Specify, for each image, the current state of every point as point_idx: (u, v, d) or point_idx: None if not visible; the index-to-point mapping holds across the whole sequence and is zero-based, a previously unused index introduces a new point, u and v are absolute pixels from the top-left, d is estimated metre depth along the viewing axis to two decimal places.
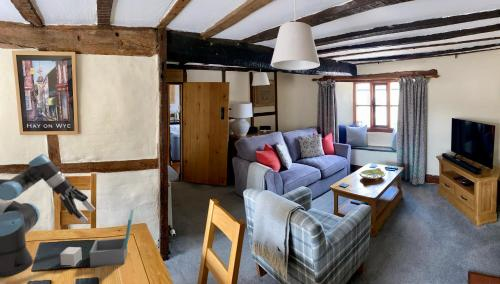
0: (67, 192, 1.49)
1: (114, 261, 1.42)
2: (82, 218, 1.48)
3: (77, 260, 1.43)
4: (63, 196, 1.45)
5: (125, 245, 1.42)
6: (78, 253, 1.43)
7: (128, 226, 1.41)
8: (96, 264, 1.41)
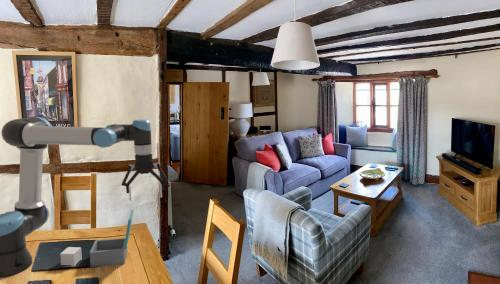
0: (138, 166, 1.44)
1: (114, 261, 1.42)
2: (129, 194, 1.46)
3: (77, 260, 1.43)
4: (128, 166, 1.43)
5: (125, 245, 1.42)
6: (78, 253, 1.43)
7: (128, 226, 1.41)
8: (96, 264, 1.41)
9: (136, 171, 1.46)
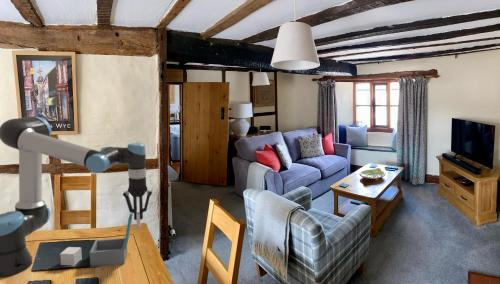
0: (130, 189, 1.44)
1: (114, 261, 1.42)
2: None
3: (77, 260, 1.43)
4: None
5: (125, 245, 1.42)
6: (78, 253, 1.43)
7: (128, 226, 1.41)
8: (96, 264, 1.41)
9: None
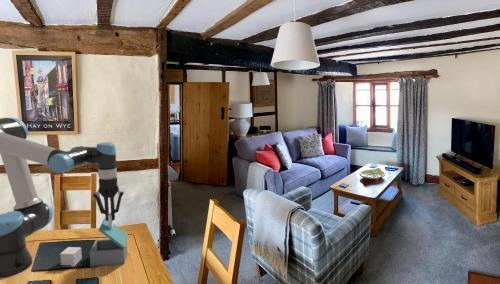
0: (101, 189, 1.41)
1: (114, 261, 1.42)
2: None
3: (77, 260, 1.43)
4: None
5: (121, 245, 1.42)
6: (78, 253, 1.43)
7: (105, 233, 1.39)
8: (96, 264, 1.41)
9: None
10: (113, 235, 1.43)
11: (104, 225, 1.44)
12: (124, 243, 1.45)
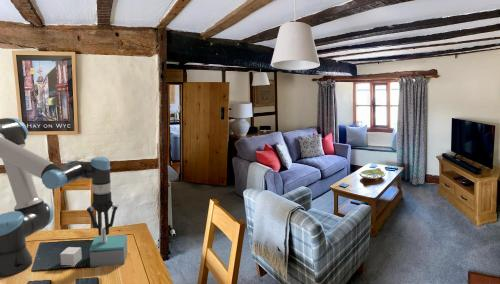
0: (95, 204, 1.41)
1: (114, 261, 1.42)
2: None
3: (77, 260, 1.43)
4: None
5: (119, 248, 1.42)
6: (78, 253, 1.43)
7: (97, 249, 1.39)
8: (96, 264, 1.41)
9: None
10: (107, 245, 1.43)
11: (94, 243, 1.44)
12: (122, 244, 1.45)
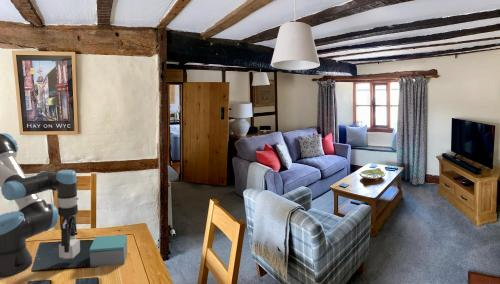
0: (69, 219, 1.38)
1: (114, 261, 1.42)
2: (67, 253, 1.39)
3: (75, 252, 1.43)
4: (65, 226, 1.34)
5: (119, 248, 1.42)
6: (76, 245, 1.43)
7: (97, 250, 1.39)
8: (96, 264, 1.41)
9: None
10: (107, 245, 1.43)
11: (94, 243, 1.44)
12: (122, 244, 1.45)
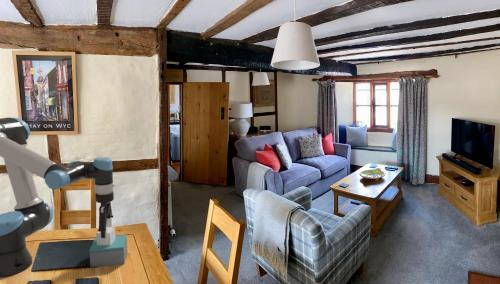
0: (106, 205, 1.41)
1: (114, 261, 1.42)
2: (104, 239, 1.39)
3: (112, 239, 1.45)
4: (103, 210, 1.37)
5: (119, 248, 1.42)
6: (112, 233, 1.46)
7: (97, 250, 1.40)
8: (96, 264, 1.41)
9: None
10: None
11: (94, 244, 1.44)
12: (122, 244, 1.45)
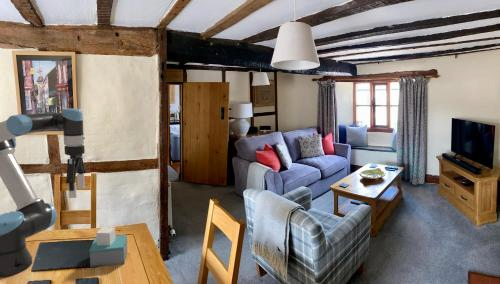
0: (76, 158, 1.35)
1: (114, 261, 1.42)
2: (72, 192, 1.32)
3: (112, 239, 1.45)
4: (72, 161, 1.30)
5: (119, 248, 1.42)
6: (112, 233, 1.46)
7: (97, 250, 1.40)
8: (96, 264, 1.41)
9: None
10: None
11: (94, 244, 1.44)
12: (122, 244, 1.45)
